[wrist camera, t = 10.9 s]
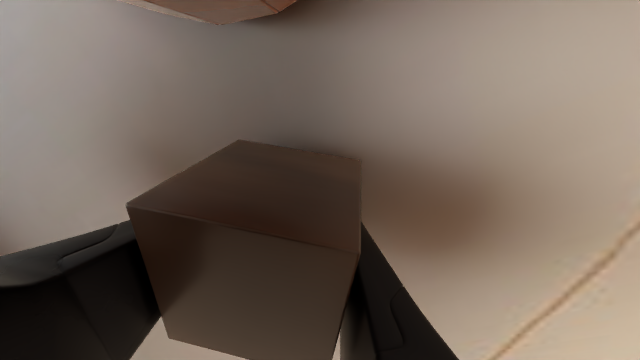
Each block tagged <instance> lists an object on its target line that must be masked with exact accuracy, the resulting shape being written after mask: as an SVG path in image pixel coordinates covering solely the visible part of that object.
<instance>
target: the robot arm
mask: <svg viewBox="0 0 640 360" xmlns="http://www.w3.org/2000/svg"><path fill="white" fill-rule="evenodd" d="M160 317H161V313H160V310H159V307H158V304H157V301H156V298H155V295H154V292H153V288H152V285H151V282H150V279H149V276H148V273H147V270H146V267H145V264H144V261H143V258H142V255H141V251H140V248H139V245H138V242H137V239H136V236H135V233H134V230H133V227H132V224H131V221H130V220H129V221H125V222H122V223H120V224H115V225H112V226H109V227H106V228H103V229H99V230H96V231H93V232H89V233H86V234H83V235H79V236H75V237H72V238H68V239H64V240H61V241H57V242H53V243H50V244H46V245H42V246H38V247H35V248H31V249H27V250H23V251H19V252H16V253H12V254H8V255H4V256H1V257H0V360H130V358H131V357H132V356H133V354H134V353H135V351H136V350H137V349H138V347H139V346H140V345H141V343H142V342H143V340H144V339H145V338H146V336H147V335H148V334H149V332H150V331H151V329H152V328H153V327H154V325H155V324H156V322H157V321H158V320H159V318H160ZM340 360H459V359H458V358H457V357H456V355H455V354H454V353H453V352H452V350H451V349H450V348H449V347H448V345H447V344H446V343H445V342H444V340H443V339H442V338H441V337H440V335H439V334H438V333H437V331H436V330H435V329H434V328H433V326H432V325H431V324H430V322H429V321H428V320H427V319H426V317H425V316H424V315H423V313H422V312H421V311H420V309H419V308H418V306H417V305H416V303H415V302H414V301H413V299H412V298H411V296H410V295H409V293H408V292H407V290H406V289H405V287H403V284H402V283H401V281H400V280H399V278H398V277H397V275H396V274H395V272H394V271H393V269H392V268H391V266H390V265H389V263H388V262H387V260H386V259H385V257H384V255H383V254H382V252H381V251H380V249H379V248H378V246H377V245H376V243H375V242H374V240H373V239H372V237H371V236H370V234H369V233H368V231H367V230H366V228H365V227H364V225H363V224H362V222H361V254H360V257H359V261H358V265H357V269H356V272H355V276H354V280H353V283H352V287H351V291H350V295H349V298H348V302H347V306H346V310H345V313H344V317H343V321H342V325H341V328H340Z"/></svg>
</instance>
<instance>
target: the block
mask: <svg viewBox="0 0 640 360" xmlns="http://www.w3.org/2000/svg"><path fill="white" fill-rule="evenodd" d="M126 208H127V211H128V214H129V218H130V221H131V224H132V227H133V230H134V233H135V236H136V239H137V242H138V245H139V248H140V251H141V255H142V258H143V261H144V264H145V267H146V270H147V273H148V276H149V279H150V282H151V285H152V288H153V292H154V295H155V298H156V301H157V304H158V307H159V310H160V313H161V316H162V319H163V322H164V325H165V328H166V332H167V335H168V338H170V339H173V340H177V341H181V342H185V343H189V344H192V345H196V346H200V347H204V348H208V349H211V350H215V351H219V352H223V353H226V354H230V355H234V356H238V357H242V358H245V359H249V360H332V358H333V354H334V351H335V347H336V343H337V340H338V336H339V332H340V328H341V325H342V321H343V317H344V313H345V310H346V306H347V302H348V298H349V295H350V291H351V287H352V283H353V280H354V276H355V272H356V269H357V265H358V261H359V257H360V254H361V161H360V160H356V159H350V158H344V157H339V156H333V155H327V154H321V153H315V152H309V151H303V150H297V149H291V148H285V147H279V146H274V145H268V144H262V143H256V142H250V141H244V140H237V141H235V142H234V143H232V144H230V145H228V146H227V147H225V148H223V149H221V150H220V151H218V152H216V153H214V154H212V155H211V156H209V157H207V158H205V159H204V160H202V161H200V162H198V163H196V164H195V165H193V166H191V167H189V168H188V169H186V170H184V171H182V172H181V173H179V174H177V175H175V176H173V177H172V178H170V179H168V180H166V181H165V182H163V183H161V184H159V185H158V186H156V187H154V188H152V189H150V190H149V191H147V192H145V193H143V194H142V195H140V196H138V197H136V198H134V199H133V200H131V201H129V202H127V203H126Z"/></svg>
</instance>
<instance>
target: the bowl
mask: <svg viewBox="0 0 640 360" xmlns="http://www.w3.org/2000/svg"><path fill="white" fill-rule="evenodd" d="M118 1H121V2H125V3H128V4H132V5H135V6H139V7H142V8H146V9H149V10H153V11H156V12H160V13H163V14H167V15H172V16H177V17H182V18H187V19H192V20H197V21H202V22H207V23H211V24H216V25H219V24H220V25H224V24H229V23H234V22H239V21H243V20H248V19H253V18H258V17H263V16H268V15H273V14H277V13H278V12H281V11H282V10H284V9H285V8H287V7H288V6H290V5H291V4H293V3H294V2H296V1H297V0H118Z"/></svg>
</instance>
